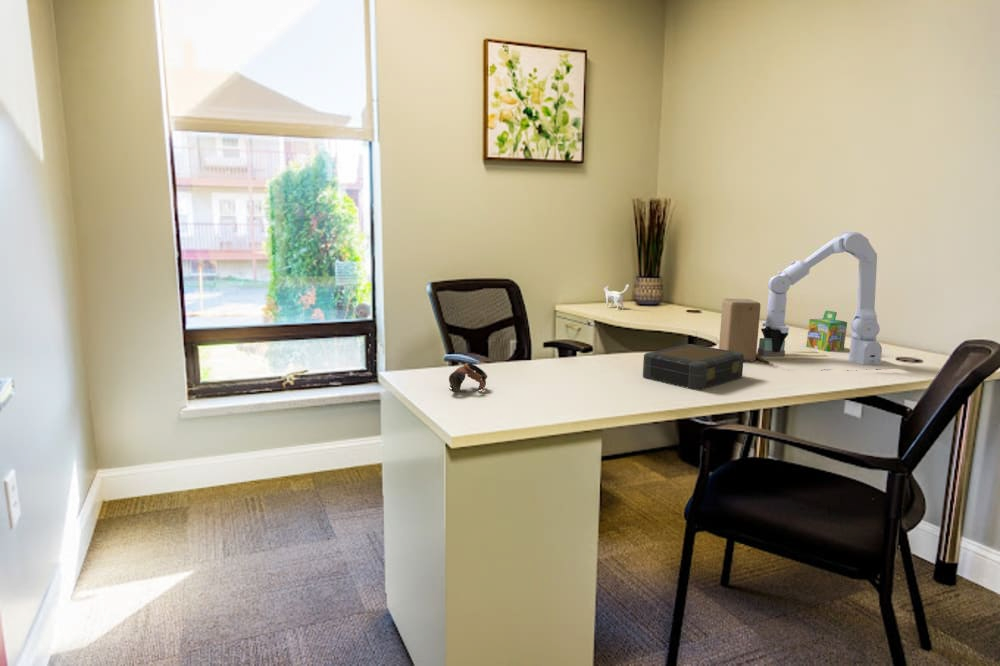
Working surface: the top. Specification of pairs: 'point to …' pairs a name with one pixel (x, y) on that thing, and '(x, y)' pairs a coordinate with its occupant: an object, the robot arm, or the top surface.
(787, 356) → the board
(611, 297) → the cat figurine
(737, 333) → the wooden block
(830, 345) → the chalk box
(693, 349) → the cash box
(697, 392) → the top surface
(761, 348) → the sanding block
